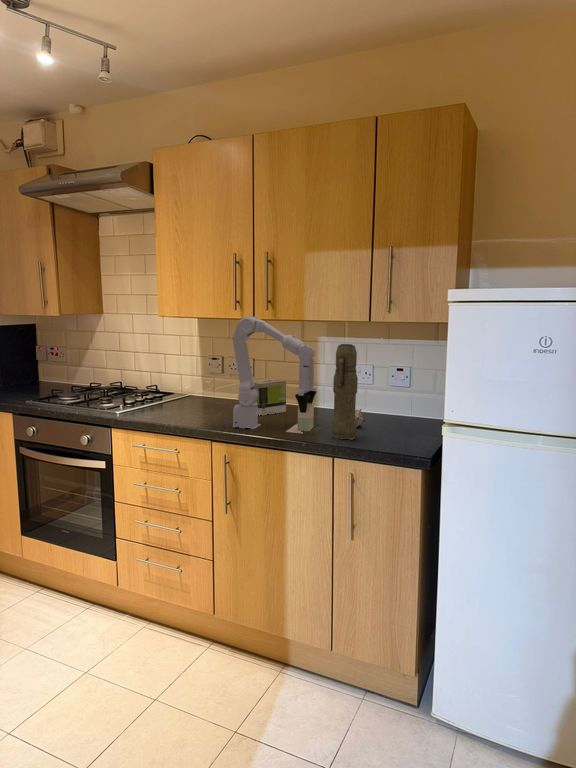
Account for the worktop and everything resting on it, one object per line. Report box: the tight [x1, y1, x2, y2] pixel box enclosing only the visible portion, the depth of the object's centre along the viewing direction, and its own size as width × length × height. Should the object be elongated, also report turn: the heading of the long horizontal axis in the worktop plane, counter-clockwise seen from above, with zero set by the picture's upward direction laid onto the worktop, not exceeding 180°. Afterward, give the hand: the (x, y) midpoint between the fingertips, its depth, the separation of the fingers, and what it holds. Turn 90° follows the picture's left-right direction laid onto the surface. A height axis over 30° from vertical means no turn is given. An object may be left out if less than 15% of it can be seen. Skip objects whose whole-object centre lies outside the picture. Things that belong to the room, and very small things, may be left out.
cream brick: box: [297, 403, 315, 419], centre depth 211 cm, size 5×5×5 cm
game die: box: [355, 408, 366, 428], centre depth 217 cm, size 9×8×10 cm
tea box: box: [253, 378, 287, 417], centre depth 243 cm, size 15×10×15 cm, turn 126°
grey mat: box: [285, 423, 303, 434], centre depth 212 cm, size 12×14×1 cm
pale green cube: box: [297, 416, 314, 431], centre depth 212 cm, size 5×5×5 cm
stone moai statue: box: [331, 343, 359, 439], centre depth 198 cm, size 9×12×35 cm
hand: (305, 410), depth 211 cm, fingers open, 7 cm apart
